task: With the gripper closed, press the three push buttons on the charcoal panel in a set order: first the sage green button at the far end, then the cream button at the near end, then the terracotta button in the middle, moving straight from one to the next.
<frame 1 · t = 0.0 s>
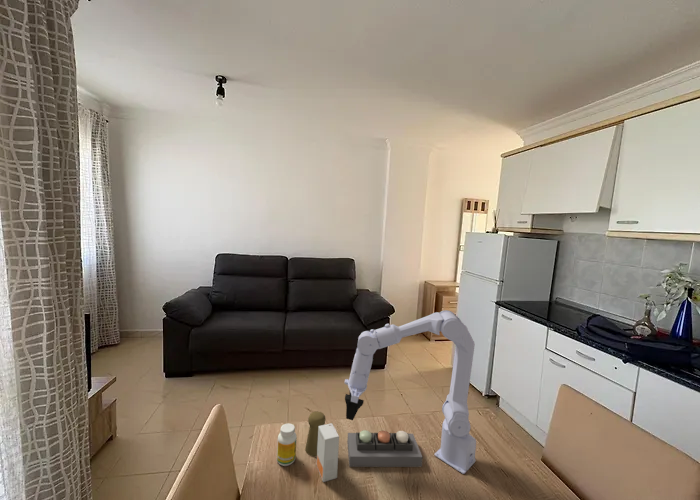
hand: (350, 411, 94), 11 cm above the table, tool pointing down, fingers open, 7 cm apart
olive pepper mill: (315, 449, 91), on the table
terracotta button: (383, 437, 91), point 5 cm above the table, slide at 0.0 cm
sage button: (365, 436, 90), point 5 cm above the table, slide at 0.0 cm
charcoal button panel: (382, 453, 91), on the table
skincare box: (326, 473, 83), on the table
supplement bottle: (286, 460, 86), on the table
cream button: (402, 437, 91), point 5 cm above the table, slide at 0.0 cm
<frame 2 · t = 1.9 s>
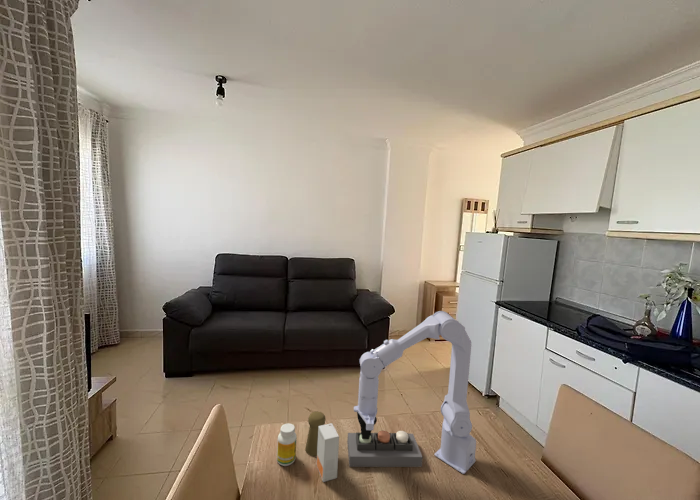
hand: (365, 437, 90), 5 cm above the table, tool pointing down, fingers closed, pressing on sage button
sage button: (365, 440, 90), point 4 cm above the table, slide at 1.0 cm, touching gripper
everything else where it was.
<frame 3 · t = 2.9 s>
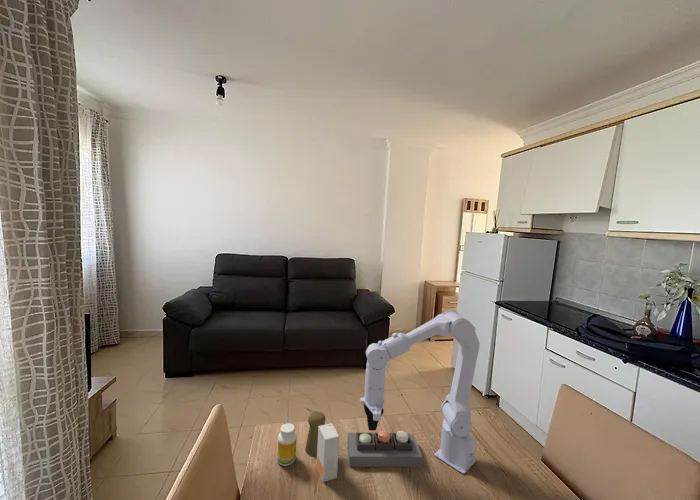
hand: (372, 429, 90), 8 cm above the table, tool pointing down, fingers closed
sage button: (365, 440, 90), point 4 cm above the table, slide at 1.0 cm
everything else where it was.
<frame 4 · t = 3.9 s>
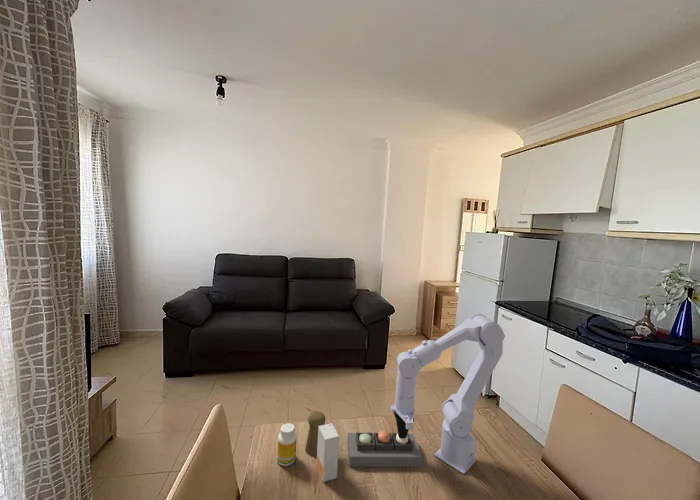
hand: (402, 436, 91), 5 cm above the table, tool pointing down, fingers closed, pressing on cream button
cream button: (402, 439, 91), point 5 cm above the table, slide at 0.7 cm, touching gripper
everything else where it was.
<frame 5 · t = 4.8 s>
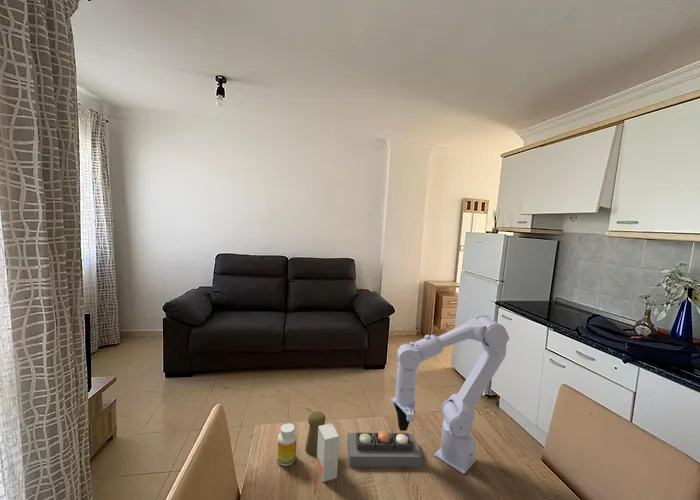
hand: (402, 429, 91), 8 cm above the table, tool pointing down, fingers closed
cream button: (401, 440, 91), point 4 cm above the table, slide at 1.0 cm
everything else where it was.
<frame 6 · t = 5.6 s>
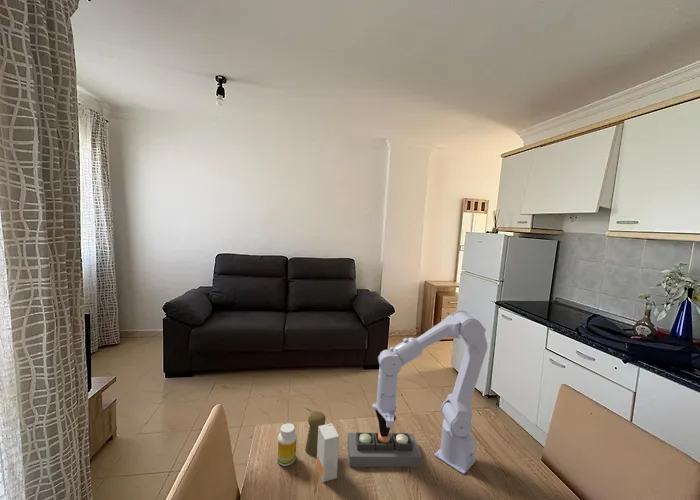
hand: (383, 435, 90), 6 cm above the table, tool pointing down, fingers closed, pressing on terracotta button
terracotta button: (383, 437, 91), point 5 cm above the table, slide at 0.2 cm, touching gripper
everything else where it was.
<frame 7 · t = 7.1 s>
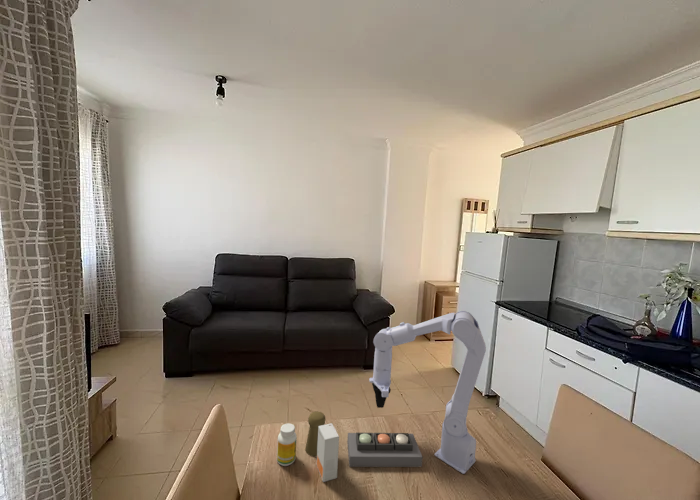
hand: (379, 406, 99), 9 cm above the table, tool pointing down, fingers closed
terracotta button: (383, 440, 91), point 4 cm above the table, slide at 1.0 cm
everything else where it was.
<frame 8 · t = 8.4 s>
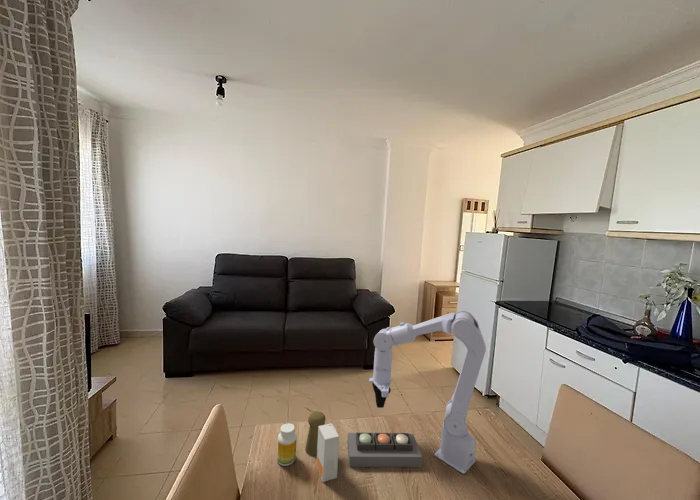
hand: (379, 406, 99), 9 cm above the table, tool pointing down, fingers closed
nothing on the table moved.
at the end: sage button slide at 1.0 cm; cream button slide at 1.0 cm; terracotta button slide at 1.0 cm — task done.
